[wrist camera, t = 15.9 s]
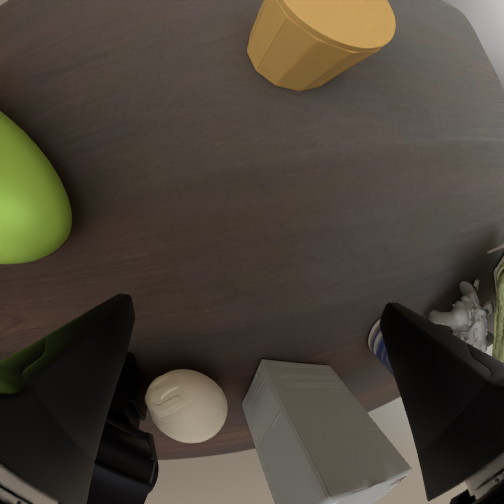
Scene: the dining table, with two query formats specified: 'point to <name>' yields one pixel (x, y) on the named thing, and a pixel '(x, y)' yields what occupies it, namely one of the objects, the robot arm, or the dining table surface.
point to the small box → (497, 270)
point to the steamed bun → (186, 405)
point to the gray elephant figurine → (467, 318)
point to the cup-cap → (316, 38)
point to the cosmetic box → (317, 438)
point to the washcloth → (499, 317)
